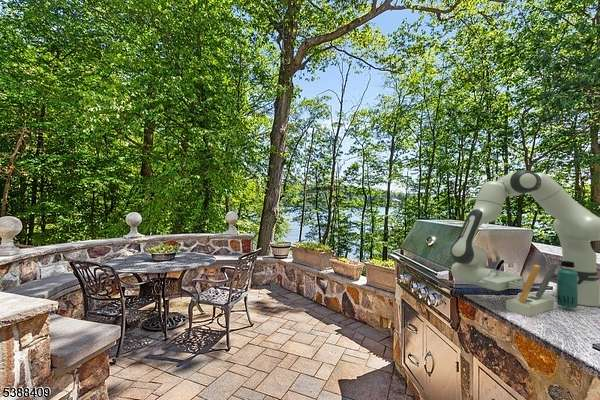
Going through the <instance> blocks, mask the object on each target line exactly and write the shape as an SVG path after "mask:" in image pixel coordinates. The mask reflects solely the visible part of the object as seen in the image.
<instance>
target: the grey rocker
mask: <svg viewBox="0 0 600 400" xmlns="http://www.w3.org/2000/svg"><path fill="white" fill-rule="evenodd" d="M558 266H559V263H558V262H551V264H550V266H549V268H548V270H547V271H546V273H545V276H544V278H543V280H542V282H541V284H540V286H539V287H538V289H537V291H536V293H535V296H537V297H542V296H543V295H544V293H545V292H546V290H547V287H548V286H549V284H550V282H551V280H552V278H553V276H554V274H555V272H556V270H557V268H558ZM543 297H544V296H543Z"/></svg>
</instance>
